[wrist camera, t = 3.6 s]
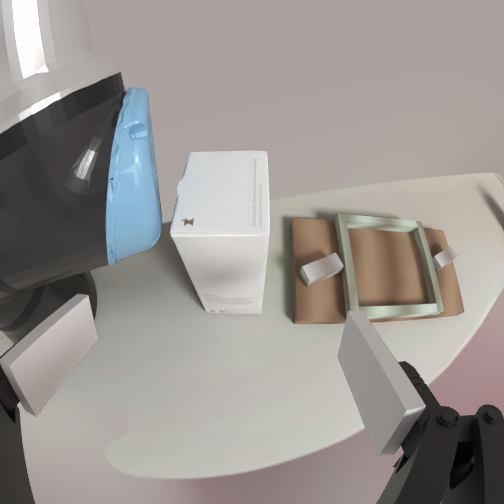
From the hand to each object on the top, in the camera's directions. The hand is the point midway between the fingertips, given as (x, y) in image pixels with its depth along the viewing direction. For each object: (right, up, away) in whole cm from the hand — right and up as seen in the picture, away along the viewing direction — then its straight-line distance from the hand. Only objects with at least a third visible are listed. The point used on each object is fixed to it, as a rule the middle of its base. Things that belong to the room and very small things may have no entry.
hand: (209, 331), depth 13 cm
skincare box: (0, +1, +19) cm, 19 cm away
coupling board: (+19, +1, +20) cm, 27 cm away
